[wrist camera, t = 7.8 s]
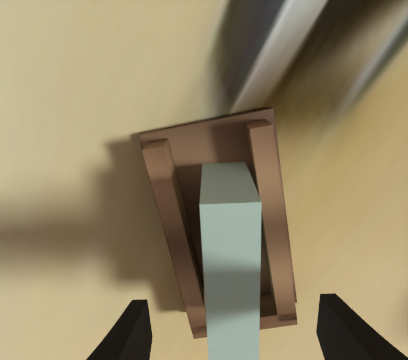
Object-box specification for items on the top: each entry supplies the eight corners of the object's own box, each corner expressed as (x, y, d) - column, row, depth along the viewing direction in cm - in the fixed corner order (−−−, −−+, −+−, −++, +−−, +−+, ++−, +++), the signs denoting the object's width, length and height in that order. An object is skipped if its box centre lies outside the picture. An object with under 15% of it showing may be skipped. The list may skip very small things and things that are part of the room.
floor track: (294, 296, 22) (305, 324, 20) (189, 312, 23) (187, 340, 20) (271, 107, 18) (281, 112, 15) (140, 133, 18) (129, 142, 16)
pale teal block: (202, 163, 18) (199, 204, 13) (245, 161, 18) (261, 202, 12) (208, 285, 21) (208, 362, 16) (245, 284, 21) (258, 361, 16)
